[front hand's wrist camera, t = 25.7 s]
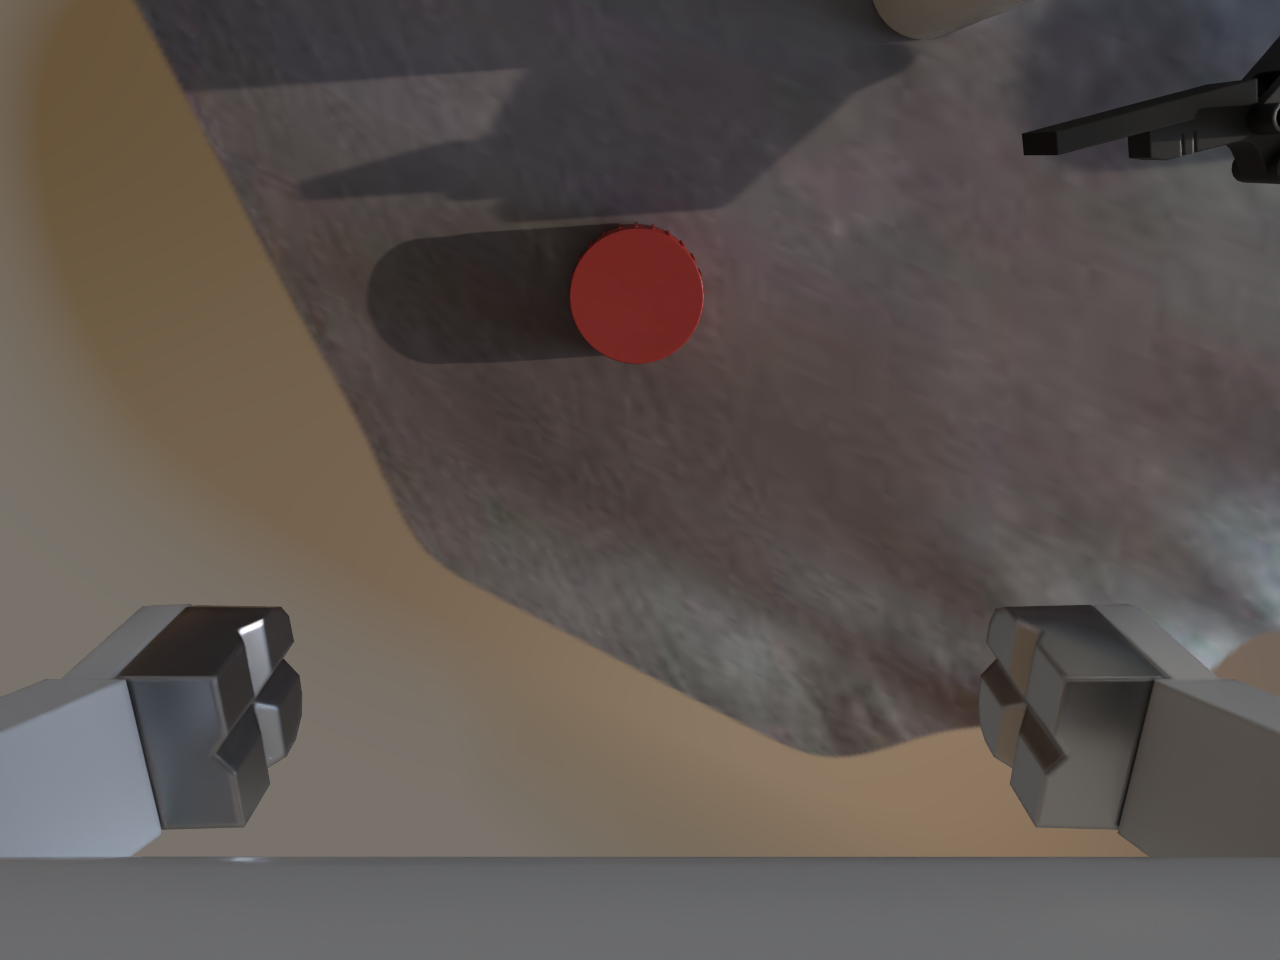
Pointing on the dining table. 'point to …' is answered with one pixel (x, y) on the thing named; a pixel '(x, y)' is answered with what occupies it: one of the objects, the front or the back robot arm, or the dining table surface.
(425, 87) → the dining table surface
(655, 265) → the lid
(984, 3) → the cream cylinder
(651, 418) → the dining table surface
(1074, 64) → the dining table surface
